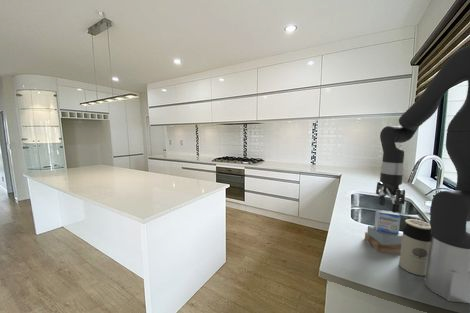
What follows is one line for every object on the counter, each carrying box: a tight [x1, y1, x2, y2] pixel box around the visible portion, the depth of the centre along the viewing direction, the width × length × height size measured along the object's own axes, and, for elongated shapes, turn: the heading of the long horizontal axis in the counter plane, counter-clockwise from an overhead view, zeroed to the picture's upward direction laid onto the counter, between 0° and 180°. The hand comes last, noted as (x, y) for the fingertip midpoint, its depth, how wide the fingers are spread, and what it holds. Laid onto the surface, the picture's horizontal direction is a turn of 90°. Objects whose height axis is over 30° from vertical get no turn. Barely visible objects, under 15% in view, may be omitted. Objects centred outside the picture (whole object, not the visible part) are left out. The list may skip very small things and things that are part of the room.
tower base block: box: [364, 231, 401, 254], centre depth 88 cm, size 10×10×4 cm
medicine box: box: [373, 209, 402, 234], centre depth 86 cm, size 8×4×9 cm, turn 67°
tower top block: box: [366, 225, 403, 245], centre depth 87 cm, size 9×9×4 cm
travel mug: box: [398, 218, 432, 276], centre depth 72 cm, size 8×8×18 cm
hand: (387, 208), depth 86 cm, fingers open, 8 cm apart
